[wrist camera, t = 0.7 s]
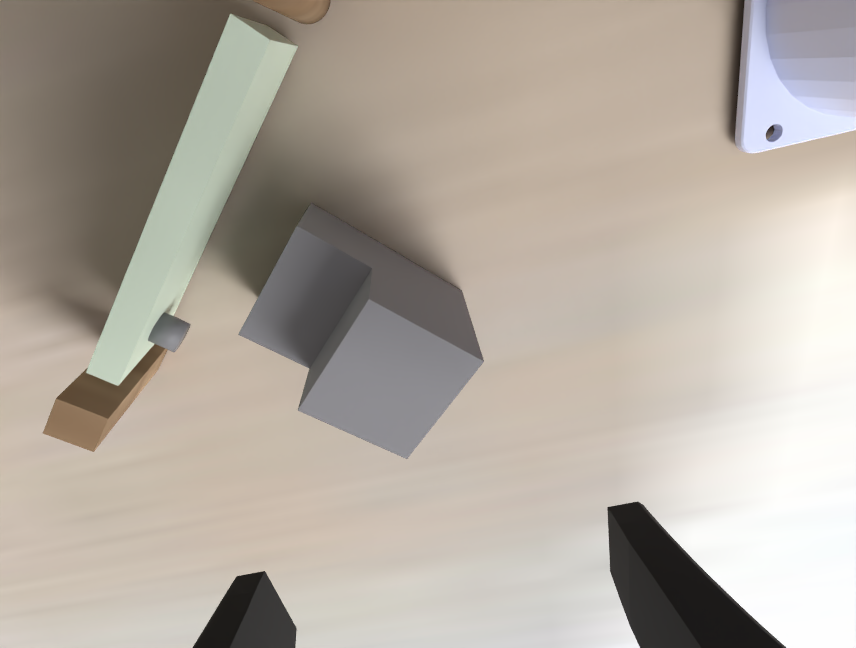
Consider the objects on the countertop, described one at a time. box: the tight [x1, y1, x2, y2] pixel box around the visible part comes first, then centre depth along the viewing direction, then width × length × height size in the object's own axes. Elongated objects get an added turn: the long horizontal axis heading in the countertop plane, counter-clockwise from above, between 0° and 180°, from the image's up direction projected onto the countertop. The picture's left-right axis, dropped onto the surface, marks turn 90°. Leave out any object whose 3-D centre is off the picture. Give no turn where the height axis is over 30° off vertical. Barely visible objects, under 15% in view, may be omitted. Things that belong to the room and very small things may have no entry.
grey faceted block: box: [238, 203, 484, 459], centre depth 16 cm, size 4×6×5 cm, turn 57°
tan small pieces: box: [43, 0, 330, 452], centre depth 13 cm, size 18×1×4 cm, turn 147°
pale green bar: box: [86, 13, 298, 386], centre depth 14 cm, size 10×2×4 cm, turn 147°
